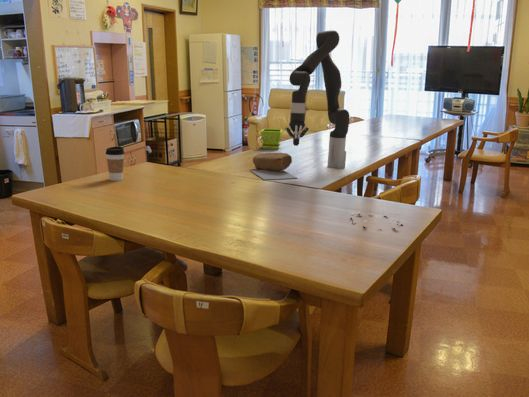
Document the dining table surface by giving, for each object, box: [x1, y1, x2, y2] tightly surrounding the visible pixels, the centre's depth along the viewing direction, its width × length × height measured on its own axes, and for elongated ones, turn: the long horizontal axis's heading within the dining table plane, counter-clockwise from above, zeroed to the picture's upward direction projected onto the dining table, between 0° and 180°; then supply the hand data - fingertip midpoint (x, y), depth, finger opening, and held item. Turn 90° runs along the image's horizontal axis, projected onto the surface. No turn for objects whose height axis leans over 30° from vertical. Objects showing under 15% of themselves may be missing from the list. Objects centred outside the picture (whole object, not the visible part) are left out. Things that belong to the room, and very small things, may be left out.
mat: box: [249, 169, 298, 181], centre depth 252 cm, size 18×22×1 cm
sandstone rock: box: [252, 152, 293, 171], centre depth 263 cm, size 11×8×20 cm
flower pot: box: [260, 128, 283, 150], centre depth 337 cm, size 14×14×13 cm
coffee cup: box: [105, 146, 125, 182], centre depth 227 cm, size 8×8×15 cm
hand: (295, 145), depth 253 cm, fingers closed
